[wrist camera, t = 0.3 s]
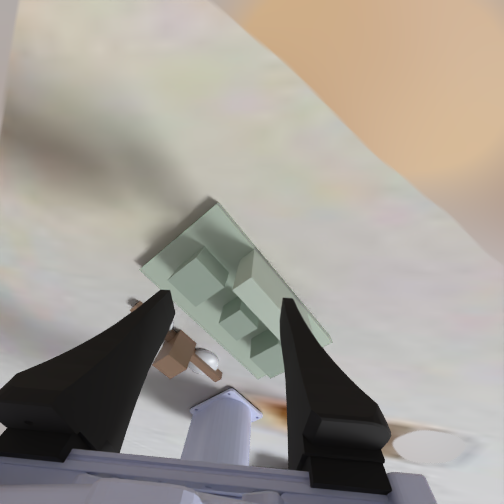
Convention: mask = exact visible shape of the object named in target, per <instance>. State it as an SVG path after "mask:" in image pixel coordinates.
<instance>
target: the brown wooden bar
mask: <svg viewBox="0 0 504 504" xmlns="http://www.w3.org/2000/svg"><path fill="white" fill-rule="evenodd" d="M142 304H143V303H142V302H141V301H139V302H138V303H137V304H136V305H134V306H133V307H132V309H131V310H130V311H131V312H133V311H134V310H135V309H137V308H138V307H139V306H141V305H142ZM173 325H174V322H173V321H172V324H171V326H170V329H169V331H168V333H167V335H166V337H165V339H164V340H166V341H165V343H164V345H163V347H162V348H161V350H160V352H159V354H158V355H157V357H156V359H155V361H154V363H153V364H152V365H153V366H154V367H155V368H157V369H158V370H159V371H161V372H162V373H163V374H164V375H166V376H167V377H168V378H170V379H171V378H173V377H174V376H176V375H178V374H179V373H181V372H183V371H185V370H186V369H187V367H189V368H190V369H191V370H192V371H193V372H195V373H197V374H201V375H207V376H208V377H210V378H211V379H212V380H213V381H214V382H217V381H218V380H220V379H221V378H222V372H221V371H220V370H219V369H217V367H218V358H217V356H216V355H215V354H214V353H212V352H210V351H208V350H203V349H199V350H196V349H195V346H196V343H195V342H194V341H193V340H192V339H191V338H190V337H189V336H187V335H186V334H185V333H184V332H183V331H182V330H180V331H179V332H177V333H176V332H175V331H174V330H173V329H172V328H173Z"/></svg>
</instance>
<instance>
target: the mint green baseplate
mask: <svg viewBox="0 0 504 504" xmlns="http://www.w3.org/2000/svg"><path fill="white" fill-rule="evenodd" d="M139 270H140V271H141V272H142V273H143V274H144V275H145V276H146V277H147V278H149V279H150V280H151V281H152V282H153V283H154V284H155V285H156V286H157V287H158V288H159V289H160V290H170V291H171V296H172V300H173V302H175V303H176V304H177V305H178V306H179V307H180V308H181V309H182V310H183V311H184V312H185V313H186V314H188V315H189V316H190V317H191V318H192V319H193V320H194V321H195V322H196V323H197V324H198V325H199V326H201V327H202V328H203V329H204V330H205V331H206V332H207V333H208V334H209V335H210V336H211V337H212V338H213V339H215V340H216V341H217V342H218V343H219V344H220V345H221V346H222V347H223V348H224V349H225V350H226V351H228V352H229V353H230V354H231V355H232V356H233V357H234V358H235V359H236V360H237V361H238V362H239V363H241V364H242V365H243V366H244V367H245V368H246V369H247V370H248V371H249V372H250V373H251V374H252V375H254V376H255V377H256V378H257V379H260V378H262V377H264V376H266V375H267V376H269V377H270V378H273V377H275V376H277V375H279V374H281V373H283V372H285V370H284V363H283V355H282V348H281V341H280V321H279V320H280V313H281V306H282V299H283V298H293V299H294V301H295V303H296V306H297V308H298V310H299V312H300V313H301V315H302V317H303V319H304V321H305V322H306V324H307V326H308V327H309V329H310V330H311V332H312V334H313V335H314V337H315V338H316V339H317V341H318V342H319V344H320V345H321V346H322V348H323V347H325V346H327V345H329V344H331V343H333V342H332V340H331V337H330V336H329V334H328V333H327V332H326V331H325V330H324V328H323V327H322V326H321V325H320V324H319V322H318V321H317V320H316V319H315V318H314V316H313V315H312V314H311V313H310V312H309V310H308V309H307V308H306V307H305V306H304V304H303V303H302V302H301V301H300V300H299V298H298V297H297V296H296V295H295V294H294V292H293V291H292V290H291V289H290V288H289V286H288V285H287V284H286V283H285V282H284V280H283V279H282V278H281V277H280V276H279V274H278V273H277V272H276V271H275V270H274V268H273V267H272V266H271V265H270V264H269V262H268V261H267V260H266V259H265V258H264V256H263V255H262V254H261V253H260V252H259V250H258V249H257V248H256V247H255V246H254V244H253V243H252V242H251V241H250V240H249V238H248V237H247V236H246V235H245V234H244V232H243V231H242V230H241V229H240V228H239V226H238V225H237V224H236V223H235V221H234V220H233V219H232V218H231V217H230V215H229V214H228V213H227V212H226V211H225V209H224V208H223V207H222V206H221V205H220V203H219V202H218V203H217V204H216V205H215V206H213V207H212V208H211V209H210V210H209V211H208V212H206V213H205V214H204V215H203V216H202V217H200V218H199V219H198V220H197V221H196V222H195V223H193V224H192V225H191V226H190V227H189V228H188V229H186V230H185V231H184V232H183V233H182V234H181V235H179V236H178V237H177V238H176V239H175V240H173V241H172V242H171V243H170V244H169V245H168V246H166V247H165V248H164V249H163V250H162V251H161V252H159V253H158V254H157V255H156V256H155V257H154V258H152V259H151V260H150V261H149V262H148V263H146V264H145V265H144V266H143V267H142V268H141V269H139Z"/></svg>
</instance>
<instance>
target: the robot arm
mask: <svg viewBox="0 0 504 504" xmlns="http://www.w3.org/2000/svg"><path fill="white" fill-rule="evenodd" d="M174 315H175V309H174V305H173V300H172V296H171V291H170V290H160V291H158V292H157V293H156V294H155V295H153V296H152V297H151V298H150V299H148V300H147V301H146V302H144V303H143V304H142V305H141V306H139V307H138V308H137V309H135V310H134V311H133V312H131V313H130V314H129V315H127V316H126V317H124V318H123V319H122V320H120V321H119V322H117V323H116V324H115V325H113V326H112V327H110V328H108V329H107V330H105V331H104V332H102V333H100V334H99V335H97V336H95V337H94V338H92V339H90V340H88V341H86V342H84V343H83V344H81V345H79V346H77V347H75V348H73V349H71V350H69V351H67V352H65V353H63V354H61V355H59V356H57V357H55V358H53V359H50V360H48V361H46V362H44V363H41V364H39V365H37V366H34V367H32V368H29V369H27V370H25V371H22V372H20V373H17V374H16V375H15V376H14V377H13V378H12V379H11V380H10V381H9V382H8V383H6V384H5V385H4V386H3V387H2V388H1V389H0V422H1V423H2V424H3V425H4V426H6V427H7V429H6V430H5V431H4V432H3V433H2V434H1V436H0V504H437V502H436V500H435V497H434V495H433V493H432V491H431V489H430V487H429V484H428V482H427V480H426V478H425V477H424V476H423V475H420V474H410V473H399V472H391V473H387V474H386V471H385V469H384V466H383V463H385V459H384V456H383V454H382V451H381V449H382V448H383V447H384V445H385V444H386V443H387V442H388V441H389V439H390V437H391V431H390V429H389V427H388V424H387V422H386V420H385V418H384V416H383V414H382V412H381V410H380V408H379V406H378V404H377V403H376V402H374V401H373V400H372V399H371V398H370V397H369V396H368V395H367V394H365V393H364V392H363V391H362V390H361V389H360V388H359V387H358V386H357V385H356V384H355V383H354V382H353V381H352V380H351V379H350V378H349V377H348V376H347V375H346V374H345V373H344V372H343V371H342V370H341V369H340V368H339V367H338V366H337V364H336V363H335V362H334V361H333V360H332V359H331V358H330V356H329V355H328V354H327V353H326V351H325V350H324V349H323V348H322V346H321V345H320V344H319V342H318V341H317V339H316V338H315V337H314V335H313V334H312V332H311V330H310V329H309V327H308V326H307V324H306V322H305V321H304V319H303V317H302V315H301V313H300V312H299V310H298V308H297V306H296V303H295V301H294V299H293V298H283V299H282V306H281V313H280V320H279V321H280V341H281V348H282V355H283V363H284V370H285V379H286V400H287V427H288V468H289V470H286V469H276V468H266V467H255V466H249V453H250V432H251V422H253V421H256V420H258V419H260V418H262V417H263V414H262V413H261V412H260V411H259V410H258V409H256V408H255V407H254V406H253V405H252V404H251V403H250V402H248V401H247V400H246V399H245V398H244V397H243V396H241V395H240V394H239V393H238V392H237V391H236V390H234V389H233V388H230V389H228V390H226V391H224V392H222V393H220V394H218V395H216V396H214V397H212V398H210V399H208V400H206V401H204V402H202V403H200V404H198V405H196V406H194V407H192V408H191V409H190V411H189V412H190V413H191V414H192V415H193V416H192V420H191V423H190V427H189V430H188V434H187V438H186V441H185V445H184V448H183V452H182V455H181V459H174V458H163V457H153V456H143V455H133V454H122V453H120V450H121V447H122V443H123V440H124V437H125V434H126V431H127V428H128V425H129V422H130V419H131V416H132V413H133V410H134V407H135V404H136V402H137V399H138V396H139V394H140V391H141V388H142V386H143V383H144V381H145V378H146V376H147V373H148V371H149V368H150V366H151V364H152V362H153V360H154V358H155V356H156V354H157V352H158V350H159V348H160V346H161V345H162V343H163V341H164V339H165V337H166V335H167V333H168V331H169V329H170V326H171V324H172V321H173V318H174Z"/></svg>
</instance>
